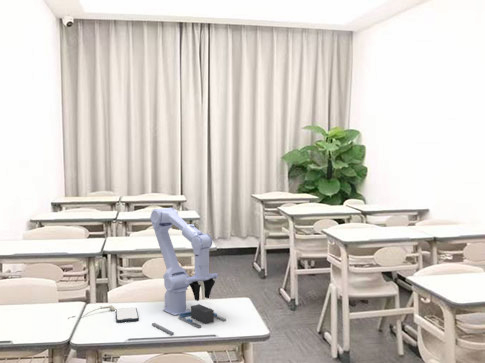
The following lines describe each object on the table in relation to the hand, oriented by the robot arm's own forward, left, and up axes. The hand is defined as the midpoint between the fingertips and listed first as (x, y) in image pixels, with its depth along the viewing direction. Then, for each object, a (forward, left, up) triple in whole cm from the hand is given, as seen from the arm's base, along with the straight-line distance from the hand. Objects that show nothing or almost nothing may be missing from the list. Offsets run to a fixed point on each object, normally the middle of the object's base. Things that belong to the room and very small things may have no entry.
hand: (202, 299), depth 197 cm
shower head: (-35, -31, -9) cm, 47 cm away
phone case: (-23, -21, -9) cm, 33 cm away
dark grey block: (0, 0, -9) cm, 9 cm away
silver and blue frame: (0, -6, -8) cm, 10 cm away
